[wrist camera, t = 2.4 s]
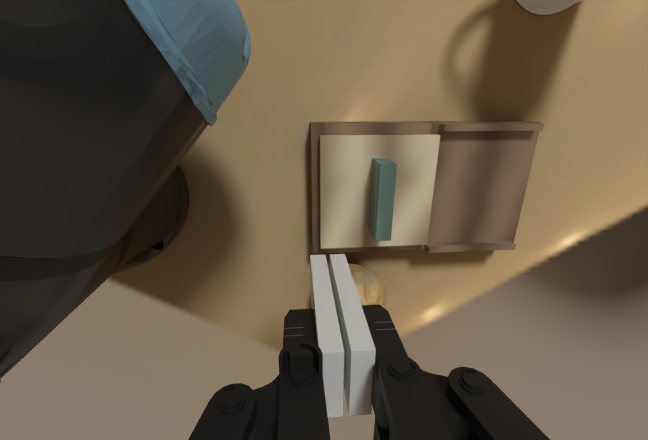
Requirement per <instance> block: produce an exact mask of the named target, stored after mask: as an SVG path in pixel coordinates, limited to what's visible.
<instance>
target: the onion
mask: <svg viewBox="0 0 648 440" xmlns="http://www.w3.org/2000/svg"><path fill="white" fill-rule="evenodd" d="M348 265H349V268H350V271H351V275H352V278H353V281H354V284H355V287H356V290H357V293H358V296H359V299H360V302H361V305H378V304H380V305H381V306H382V307H383V308H385V303H386V292H385V287H384V285H383V282H382V281H381V279H380V278H379V276H378V275H377V274H376V273H375V272H374V271H372V270H371V269H369V268H368V267H366V266H363V265H358V264H348ZM329 276H330V270H329Z"/></svg>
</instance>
